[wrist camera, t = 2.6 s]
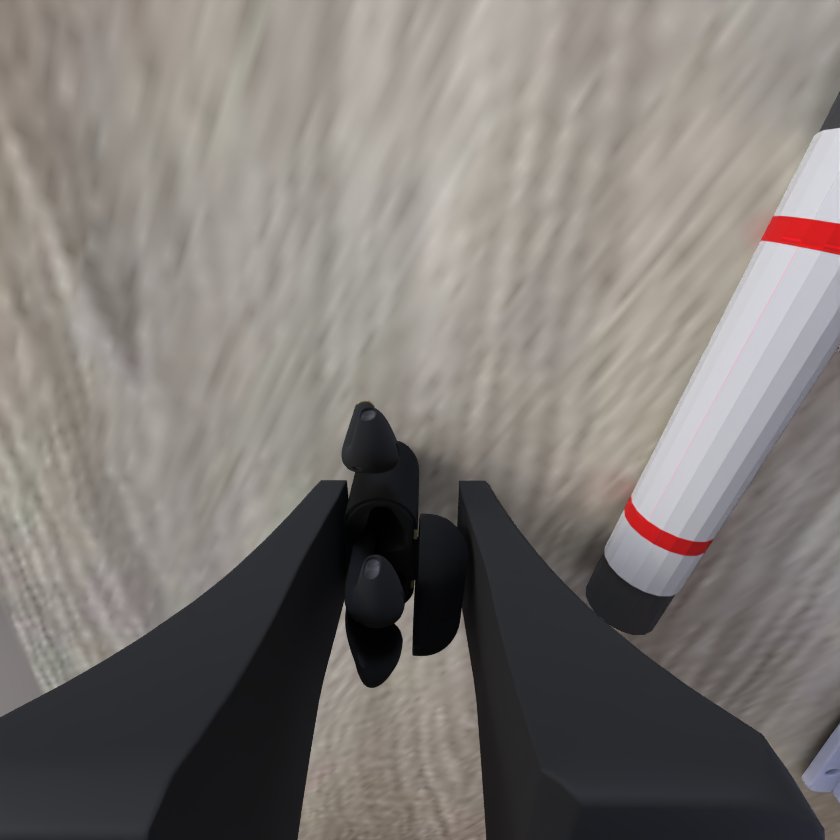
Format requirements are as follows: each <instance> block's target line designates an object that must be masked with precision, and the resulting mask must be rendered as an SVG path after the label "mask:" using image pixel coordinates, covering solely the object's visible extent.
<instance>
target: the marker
mask: <svg viewBox="0 0 840 840" xmlns="http://www.w3.org/2000/svg"><path fill="white" fill-rule="evenodd" d="M839 344H840V92H839V94H838V96H837V98H836V100H835V102H834V104H833V106H832V108H831V110H830V112H829V114H828V116H827V118H826V120H825V122H824V124H823V126H822V128H821V129H820V131H819V133H816V134H815V135H814V137H813V139H812V141H811V143H810V145H809V147H808V149H807V151H806V153H805V155H804V157H803V159H802V161H801V163H800V165H799V167H798V169H797V171H796V173H795V175H794V177H793V179H792V181H791V183H790V185H789V186H788V188H787V190H786V192H785V194H784V196H783V198H782V200H781V202H780V204H779V206H778V208H777V210H776V212H775V214H774V216H773V218H772V220H771V222H770V224H769V226H768V228H767V230H766V232H765V234H764V236H763V238H762V239H761V241H760V243H759V245H758V247H757V249H756V251H755V253H754V255H753V257H752V259H751V261H750V263H749V265H748V267H747V269H746V271H745V273H744V275H743V277H742V279H741V281H740V283H739V285H738V287H737V289H736V291H735V292H734V294H733V296H732V298H731V300H730V302H729V304H728V306H727V308H726V310H725V312H724V314H723V316H722V318H721V320H720V322H719V324H718V326H717V328H716V330H715V332H714V334H713V336H712V338H711V340H710V342H709V344H708V345H707V347H706V349H705V351H704V353H703V355H702V357H701V359H700V361H699V363H698V365H697V367H696V369H695V371H694V373H693V375H692V377H691V379H690V381H689V383H688V385H687V387H686V389H685V391H684V393H683V395H682V397H681V398H680V400H679V402H678V404H677V406H676V408H675V410H674V412H673V414H672V416H671V418H670V420H669V422H668V424H667V426H666V428H665V430H664V432H663V434H662V436H661V438H660V440H659V442H658V444H657V446H656V448H655V450H654V451H653V453H652V455H651V457H650V459H649V461H648V463H647V465H646V467H645V469H644V471H643V473H642V475H641V477H640V479H639V481H638V483H637V485H636V487H635V489H634V491H633V493H632V495H631V497H630V499H629V501H628V503H627V505H626V506H625V508H624V510H623V512H622V514H621V516H620V518H619V520H618V522H617V524H616V526H615V528H614V530H613V532H612V534H611V536H610V538H609V540H608V542H607V544H606V546H605V551H604V553H603V555H602V557H601V559H600V561H599V563H598V565H597V567H596V569H595V571H594V573H593V575H592V577H591V579H590V581H589V583H588V585H587V587H586V597H587V599H588V602H589V604H590V606H591V607H592V609H593V610H594V611H595V613H596V614H597V615H598V616H599V617H600V618H602V619H603V620H604V621H605V622H606V623H607V624H609V625H611V626H612V627H614V628H616V629H618V630H620V631H622V632H625V633H629V634H632V635H645V634H647V633H649V632H651V631H652V630H653V628H654V627H655V625H656V624H657V622H658V620H659V619H660V617H661V616H662V614H663V613H664V611H665V610H666V608H667V606H668V605H669V603H670V602H671V600H672V599H673V597H674V596H675V594H677V593H679V592H680V590H681V588H682V587H683V585H684V584H685V582H686V581H687V579H688V578H689V576H690V575H691V573H692V571H693V570H694V568H695V567H696V565H697V564H698V562H699V561H700V559H701V558H702V556H703V554H704V553H705V551H706V550H707V548H708V547H709V545H710V544H711V542H712V541H713V539H714V537H715V536H716V534H717V533H718V531H719V530H720V528H721V527H722V525H723V524H724V522H725V521H726V519H727V517H728V516H729V514H730V513H731V511H732V510H733V508H734V507H735V505H736V504H737V502H738V500H739V499H740V497H741V496H742V494H743V493H744V491H745V490H746V488H747V487H748V485H749V483H750V482H751V480H752V479H753V477H754V476H755V474H756V473H757V471H758V470H759V468H760V466H761V465H762V463H763V462H764V460H765V459H766V457H767V456H768V454H769V453H770V451H771V449H772V448H773V446H774V445H775V443H776V442H777V440H778V439H779V437H780V436H781V434H782V432H783V431H784V429H785V428H786V426H787V425H788V423H789V422H790V420H791V419H792V417H793V416H794V414H795V412H796V411H797V409H798V408H799V406H800V405H801V403H802V402H803V400H804V399H805V397H806V395H807V394H808V392H809V391H810V389H811V388H812V386H813V385H814V383H815V382H816V380H817V378H818V377H819V375H820V374H821V372H822V371H823V369H824V368H825V366H826V365H827V363H828V361H829V360H830V358H831V357H832V355H833V354H834V352H835V351H836V349H837V348H838V346H839Z"/></svg>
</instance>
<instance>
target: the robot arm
mask: <svg viewBox="0 0 840 840" xmlns="http://www.w3.org/2000/svg"><path fill="white" fill-rule="evenodd" d="M348 500H349V499H348V488H347V480H321V481H320V482H319V483H318V484H317V485H316V486H315V487H314V488H313V489H312V490H311V492H310V493H309V494H308V495H307V496H306V497H305V498H304V499H303V500H302V502H301V503H300V504H299V505H298V506H297V507H296V508H295V509H294V510H293V511H292V513H291V514H290V515H289V516H288V517H287V518H286V519H285V520H284V521H283V522H282V523H281V524H280V525H279V526H278V527H277V528H276V529H275V530H274V531H273V532H272V533H271V534H270V535H269V537H267V538H266V539H265V540H264V541H263V542H262V543H261V544H260V545H259V546H258V547H257V548H256V549H255V550H254V551H253V552H252V553H251V554H250V555H249V556H247V557H246V558H245V559H244V560H243V561H242V562H241V563H240V564H239V565H238V566H237V567H236V568H234V569H233V570H232V571H231V572H230V573H229V574H227V575H226V576H225V577H224V578H223V579H222V580H220V581H219V582H218V583H217V584H215V585H214V586H213V587H211V588H210V589H209V590H208V591H206V592H205V593H204V594H203V595H201V596H200V597H199V598H197V599H196V600H195V601H193V602H192V603H191V604H189V605H188V606H186V607H185V608H184V609H182V610H181V611H179V612H178V613H176V614H175V615H173V616H172V617H171V618H169V619H168V620H166V621H165V622H163V623H162V624H160V625H159V626H158V627H156V628H155V629H153V630H152V631H150V632H149V633H147V634H146V635H144V636H143V637H141V638H140V639H138V640H137V641H135V642H133V643H132V644H130V645H129V646H127V647H125V648H124V649H122V650H121V651H119V652H117V653H116V654H114V655H113V656H111V657H109V658H107V659H106V660H104V661H102V662H101V663H99V664H97V665H96V666H94V667H92V668H91V669H89V670H87V671H85V672H84V673H82V674H80V675H78V676H77V677H75V678H73V679H71V680H70V681H68V682H66V683H64V684H62V685H61V686H59V687H57V688H55V689H53V690H51V691H49V692H47V693H45V694H44V695H42V696H40V697H38V698H36V699H34V700H32V701H31V702H28V703H26V704H25V705H23V706H21V707H19V708H17V709H15V710H13V711H11V712H9V713H8V714H6V715H4V716H2V717H0V840H297V839H298V832H299V825H300V818H301V811H302V804H303V797H304V791H305V784H306V778H307V771H308V765H309V758H310V752H311V746H312V740H313V734H314V728H315V722H316V716H317V710H318V704H319V698H320V694H321V689H322V685H323V680H324V676H325V672H326V668H327V665H328V661H329V657H330V653H331V649H332V645H333V642H334V638H335V634H336V630H337V626H338V623H339V619H340V615H341V611H342V607H343V603H344V599H345V598H344V595H345V579H346V577H345V546H344V526H343V520H344V516H345V512H346V508H347V504H348ZM457 528H458V529H459V530H460V532H461V533H462V535H463V537H464V539H465V542H466V544H467V549H468V565H467V572H466V579H465V587H464V594H463V602H462V610H463V617H464V623H465V629H466V635H467V641H468V647H469V653H470V659H471V665H472V671H473V677H474V685H475V693H476V701H477V713H478V726H479V739H480V753H481V767H482V781H483V795H484V809H485V825H486V840H825V834H824V828H823V826H822V825H821V823H820V822H819V820H818V818H817V817H816V815H815V813H814V812H813V810H812V809H811V807H810V805H809V804H808V802H807V800H806V799H805V797H804V796H803V794H802V792H801V790H800V789H799V787H798V786H797V784H796V782H795V781H794V779H793V778H792V776H791V774H790V773H789V771H788V770H787V768H786V767H785V766H784V764H783V763H782V761H781V760H780V759H779V757H778V756H777V755H776V753H775V752H774V750H773V749H772V748H771V746H770V745H769V743H768V742H767V740H766V739H765V737H764V736H763V735H762V734H761V733H759V732H758V731H756V730H755V729H753V728H752V727H750V726H748V725H747V724H745V723H744V722H742V721H741V720H739V719H738V718H736V717H735V716H733V715H732V714H730V713H728V712H727V711H725V710H724V709H722V708H721V707H719V706H718V705H716V704H715V703H713V702H712V701H710V700H708V699H707V698H705V697H704V696H702V695H701V694H699V693H698V692H696V691H695V690H693V689H692V688H690V687H689V686H687V685H686V684H684V683H683V682H682V681H680V680H679V679H678V678H676V677H675V676H673V675H672V674H671V673H669V672H668V671H667V670H665V669H664V668H662V667H661V666H660V665H658V664H657V663H656V662H654V661H653V660H652V659H650V658H649V657H648V656H646V655H645V654H644V653H642V652H641V651H640V650H639V649H637V648H636V647H635V646H634V645H633V644H631V643H630V642H629V641H628V640H626V639H625V638H624V637H623V636H622V635H620V634H619V633H618V632H617V631H616V630H614V629H613V628H612V627H611V626H609V625H608V624H607V623H606V622H605V621H603V620H602V619H601V618H600V617H599V616H598V615H597V614H596V613H595V612H593V611H592V610H591V609H590V608H589V607H588V606H587V605H586V604H585V603H584V602H583V601H582V600H581V599H580V598H579V597H578V596H577V595H576V594H575V593H574V592H573V591H572V590H571V589H570V588H569V587H568V586H567V585H566V584H565V583H564V582H563V581H562V580H561V579H560V578H559V577H558V576H557V575H556V574H555V573H554V572H553V570H552V569H551V568H550V567H549V566H548V565H547V564H546V562H545V561H544V560H543V559H542V558H541V557H540V556H539V554H538V553H537V552H536V551H535V550H534V548H533V547H532V546H531V545H530V543H529V542H528V541H527V539H526V538H525V537H524V536H523V534H522V533H521V532H520V530H519V529H518V528H517V526H516V525H515V524H514V522H513V521H512V520H511V518H510V517H509V515H508V514H507V512H506V511H505V509H504V508H503V506H502V505H501V503H500V502H499V500H498V499H497V497H496V496H495V494H494V492H493V491H492V489H491V487H490V485H489V484H488V483H487V482H486V481H459V497H458V522H457ZM802 780H803V782H804V783H805V785H806V786H807V788H808V789H809V790H811V791H813V792H833V794H834V796H835V797H836V799H837V800H838V802H839V803H840V723H839V724H838V726H837V727H836V729H835V730H834V731H833V733H832V734H831V736H830V737H829V738H828V740H827V741H826V743H825V744H824V745H823V747H822V748H821V750H820V751H819V752H818V754H817V755H816V757H815V758H814V759H813V761H812V762H811V764H810V765H809V766H808V768H807V769H806V771H805V772H804V773H803V775H802Z"/></svg>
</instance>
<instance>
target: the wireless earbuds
mask: <svg viewBox="0 0 840 840" xmlns="http://www.w3.org/2000/svg"><path fill="white" fill-rule="evenodd" d="M342 460H343V463H344V465H345V466H346V467H347V468H348V469H349V470H351V471H354V472H355V475H354V479H353V484H352V488H351V492H350V496H349V500H348V504H347V508H346V512H345V516H344V520H343V526H344V546H345V577H346V579H345V595H344V598H345V606H346V614H345V626H346V634H347V638H348V642H349V646H350V649H351V652H352V655H353V658H354V661H355V664H356V668H357V672H358V674H359V676H360V679H361V680H362V682H363V683H364V685H366V686H367V687H369V688H374V687H377V686H379V685H381V684H382V683H383V682H384V681H385V680H386V679H387V678H388V677H389V676H390V674H391V673H392V671H393V670H394V669H395V667H396V665H397V663H398V661H399V658H400V655H401V650H402V643H403V639H402V635H401V632H400V630H399V628H398V627H397V626H396V625H395V624H394V623H395V622H396V621H397V620H398V619H399V618H400V617H401V615H402V613H403V610H404V605H405V603H406V602H407V601H408V600H409V599H410V597H411V596H412V594H413V591H414V581H415V595H414V617H413V649H412V653H413V656H428V655H432V654H435V653H438V652H440V651H441V650H443V649H444V648H446V647H447V646H448V645H449V644H450V643H451V641H452V640H453V639H454V637H455V635H456V633H457V630H458V628H459V623H460V617H461V609H462V602H463V594H464V587H465V579H466V572H467V565H468V549H467V544H466V542H465V539H464V537H463V535H462V533H461V532H460V530H459V529H458V528H457V527H456V526H455V525H454V524H453V523H452V522H450V521H449V520H448V519H446V518H443V517H441V516H438V515H433V514H420V518H419V532H418V496H419V465H418V461H417V458H416V456H415V454H414V453H413V451H412V450H411V449H410V448H409V447H408V446H406V445H405V444H404V443H402V442H400V441H397V440H396V437H395V435H394V433H393V431H392V428H391V426H390V424H389V423H388V421H387V419H386V418H385V417H384V415H383V414H382V413H381V412H380V411H379V410H377V409H376V408H375V407H374V405H373V404H372V403H371V402H370V401H361V402H359V403H357V404H356V406H355V409H354V412H353V416H352V419H351V422H350V425H349V428H348V431H347V434H346V438H345V441H344V444H343V448H342ZM417 534H418V537H417Z"/></svg>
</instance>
